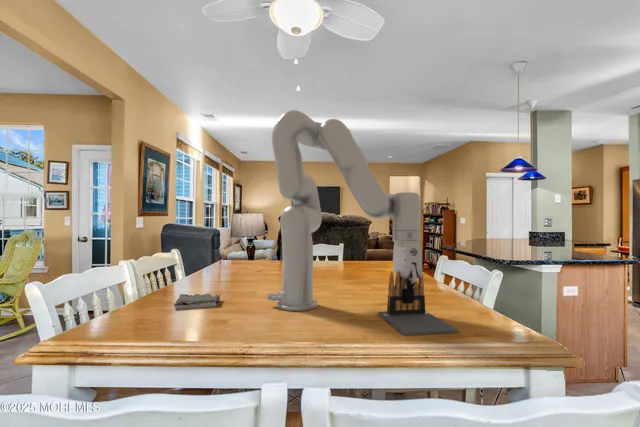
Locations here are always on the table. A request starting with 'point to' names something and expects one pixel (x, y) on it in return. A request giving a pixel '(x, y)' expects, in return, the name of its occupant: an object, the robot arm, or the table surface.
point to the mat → (418, 324)
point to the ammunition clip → (395, 297)
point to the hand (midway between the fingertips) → (405, 301)
